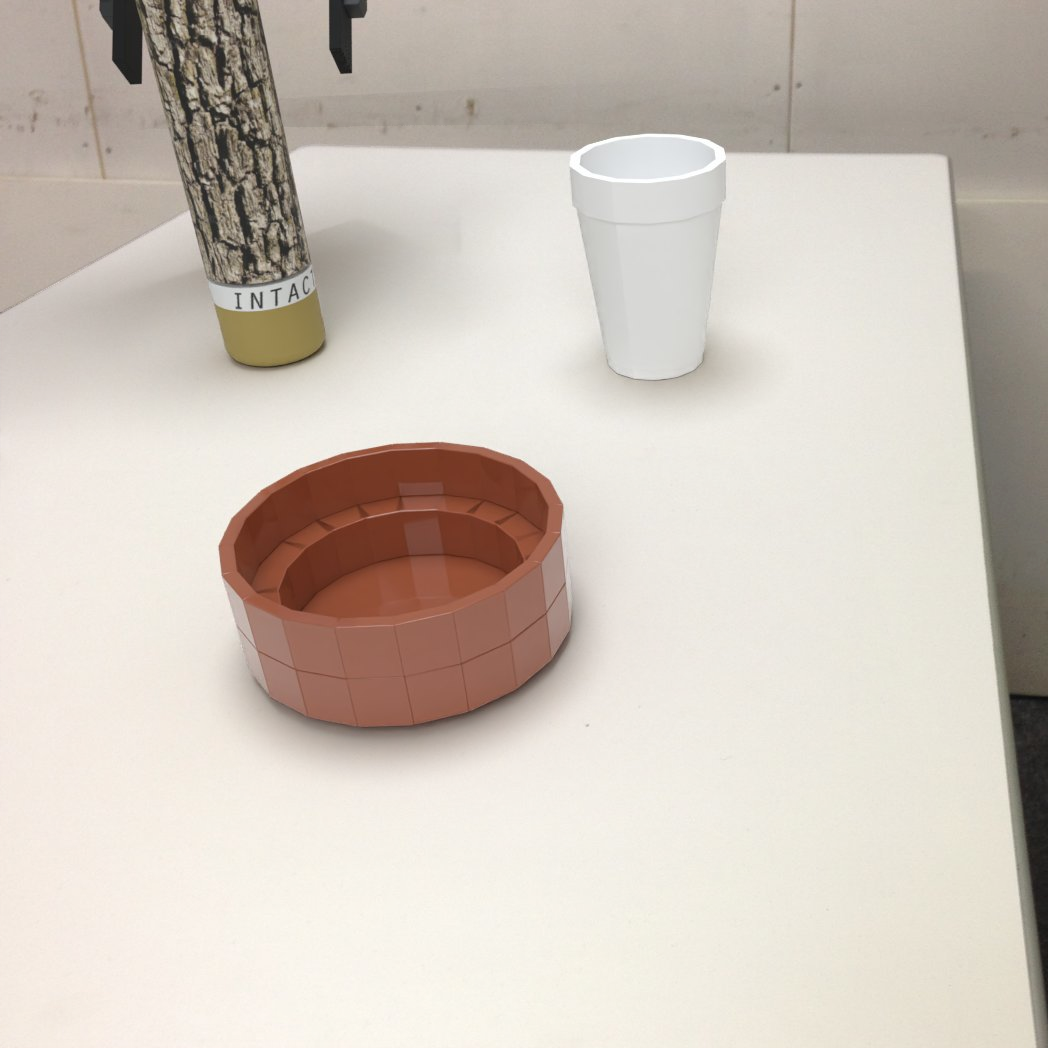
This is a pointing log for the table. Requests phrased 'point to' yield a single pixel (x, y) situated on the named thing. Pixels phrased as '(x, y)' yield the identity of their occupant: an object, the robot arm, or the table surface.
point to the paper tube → (236, 174)
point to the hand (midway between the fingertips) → (233, 67)
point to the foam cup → (650, 246)
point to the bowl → (399, 582)
